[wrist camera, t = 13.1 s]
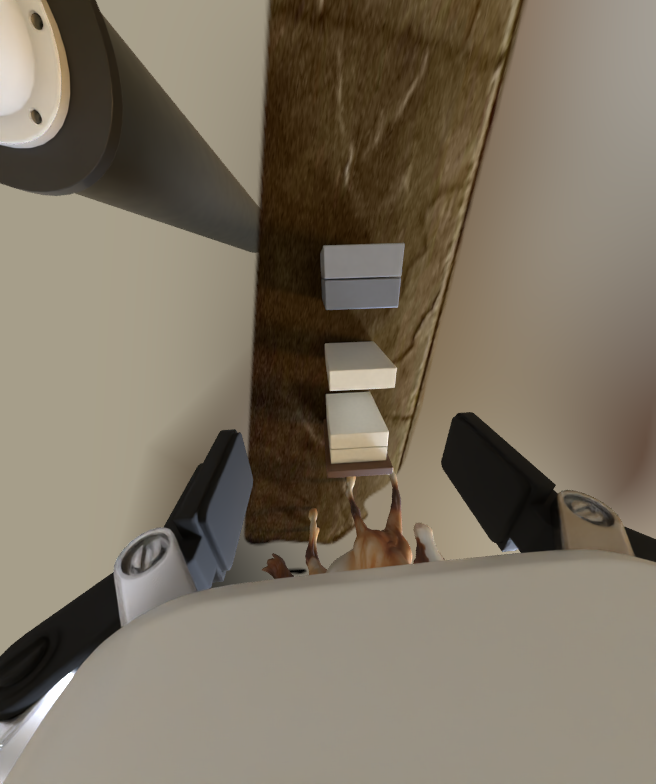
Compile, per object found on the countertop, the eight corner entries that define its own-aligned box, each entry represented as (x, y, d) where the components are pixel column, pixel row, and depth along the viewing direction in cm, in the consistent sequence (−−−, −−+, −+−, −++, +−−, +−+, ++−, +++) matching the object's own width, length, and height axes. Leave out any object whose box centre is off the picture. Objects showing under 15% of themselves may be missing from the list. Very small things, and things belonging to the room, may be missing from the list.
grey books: (322, 300, 26) (325, 310, 19) (320, 253, 24) (323, 245, 17) (375, 298, 26) (398, 307, 19) (377, 251, 24) (404, 242, 17)
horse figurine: (385, 429, 35) (464, 602, 17) (418, 454, 37) (519, 627, 19) (267, 535, 45) (234, 718, 26) (299, 549, 47) (291, 724, 29)
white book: (325, 358, 29) (329, 391, 21) (324, 343, 28) (329, 370, 20) (372, 356, 30) (394, 388, 22) (373, 341, 29) (397, 367, 21)
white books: (323, 424, 34) (327, 478, 25) (321, 394, 32) (325, 441, 23) (371, 421, 34) (392, 474, 25) (373, 391, 32) (397, 437, 23)
